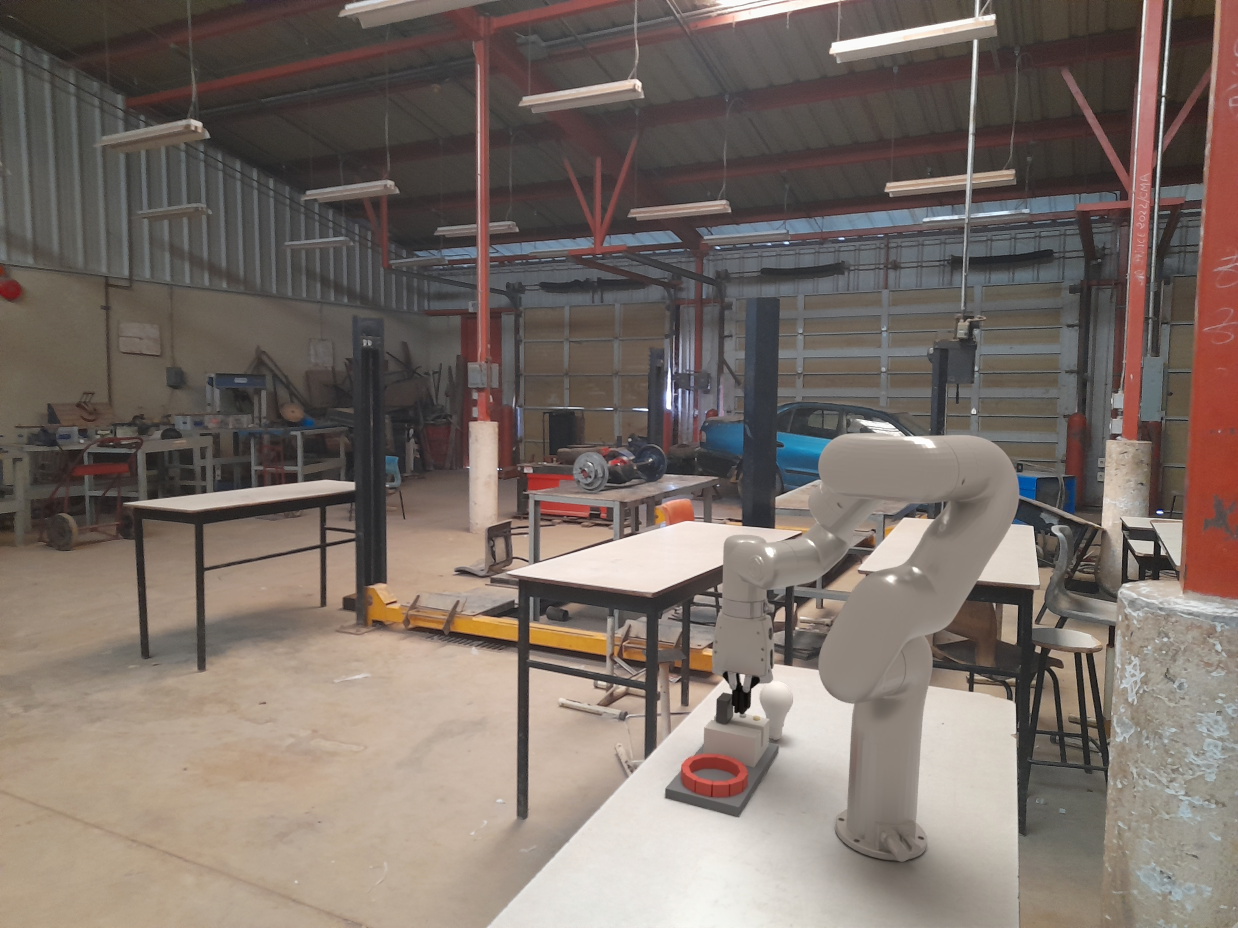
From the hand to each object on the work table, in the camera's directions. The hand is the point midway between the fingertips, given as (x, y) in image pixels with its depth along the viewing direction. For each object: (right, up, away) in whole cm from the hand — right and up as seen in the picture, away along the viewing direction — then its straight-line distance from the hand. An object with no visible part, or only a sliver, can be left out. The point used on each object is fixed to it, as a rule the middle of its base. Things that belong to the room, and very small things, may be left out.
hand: (741, 710), depth 136 cm
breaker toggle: (-3, -5, +2) cm, 6 cm away
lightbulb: (+8, -8, +9) cm, 15 cm away
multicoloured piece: (-3, -9, -4) cm, 11 cm away
